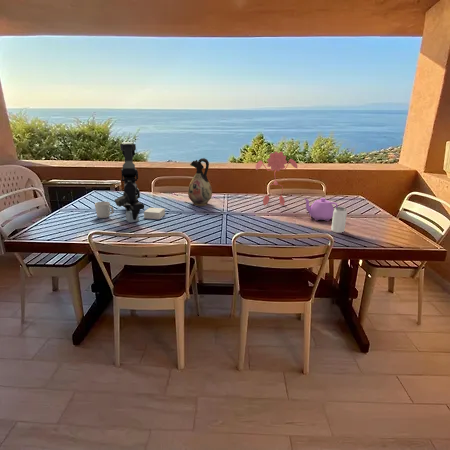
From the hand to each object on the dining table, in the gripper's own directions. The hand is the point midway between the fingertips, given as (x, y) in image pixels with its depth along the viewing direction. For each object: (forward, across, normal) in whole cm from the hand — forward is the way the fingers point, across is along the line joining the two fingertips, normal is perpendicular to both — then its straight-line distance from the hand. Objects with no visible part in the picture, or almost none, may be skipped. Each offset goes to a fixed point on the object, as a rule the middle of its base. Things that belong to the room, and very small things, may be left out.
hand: (132, 218), depth 188 cm
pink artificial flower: (+1, +26, +85) cm, 89 cm away
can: (+1, +79, +76) cm, 109 cm away
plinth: (+1, 0, +14) cm, 14 cm away
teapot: (+1, +60, +86) cm, 105 cm away
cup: (+1, -14, -9) cm, 17 cm away
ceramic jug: (+1, -6, +50) cm, 51 cm away
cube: (+1, 0, 0) cm, 1 cm away
